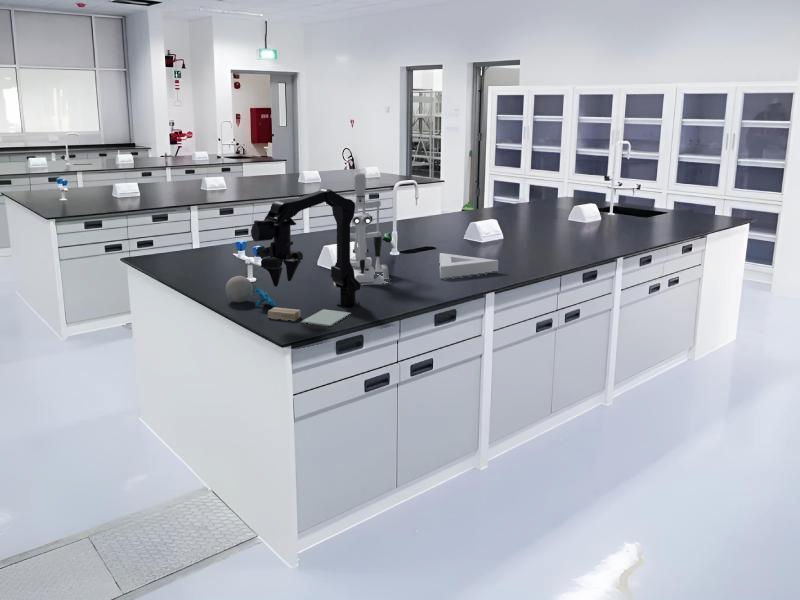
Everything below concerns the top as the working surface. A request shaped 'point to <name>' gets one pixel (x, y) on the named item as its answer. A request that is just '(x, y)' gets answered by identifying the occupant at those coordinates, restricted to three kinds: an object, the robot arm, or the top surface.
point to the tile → (284, 314)
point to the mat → (326, 317)
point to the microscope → (361, 262)
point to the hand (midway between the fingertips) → (282, 283)
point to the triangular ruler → (464, 265)
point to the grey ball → (239, 289)
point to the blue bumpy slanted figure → (264, 297)
